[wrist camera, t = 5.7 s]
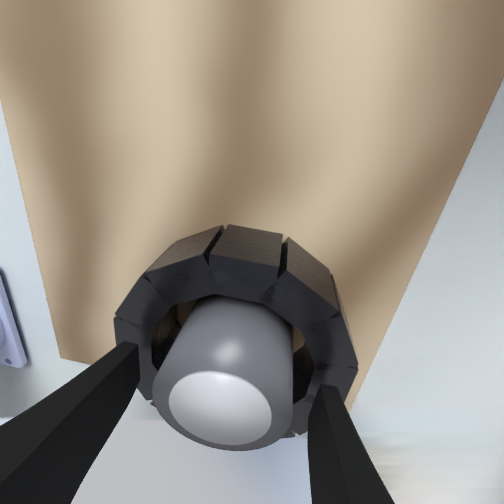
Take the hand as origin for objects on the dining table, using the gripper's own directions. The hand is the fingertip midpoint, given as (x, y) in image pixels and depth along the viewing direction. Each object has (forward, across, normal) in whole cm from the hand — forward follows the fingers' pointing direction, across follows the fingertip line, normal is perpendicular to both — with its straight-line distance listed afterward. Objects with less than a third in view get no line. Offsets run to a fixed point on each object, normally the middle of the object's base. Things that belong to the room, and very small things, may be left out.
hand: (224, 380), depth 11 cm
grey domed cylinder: (+4, 0, 0) cm, 4 cm away
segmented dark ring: (+4, 0, 0) cm, 4 cm away
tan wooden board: (+4, +2, -6) cm, 8 cm away
